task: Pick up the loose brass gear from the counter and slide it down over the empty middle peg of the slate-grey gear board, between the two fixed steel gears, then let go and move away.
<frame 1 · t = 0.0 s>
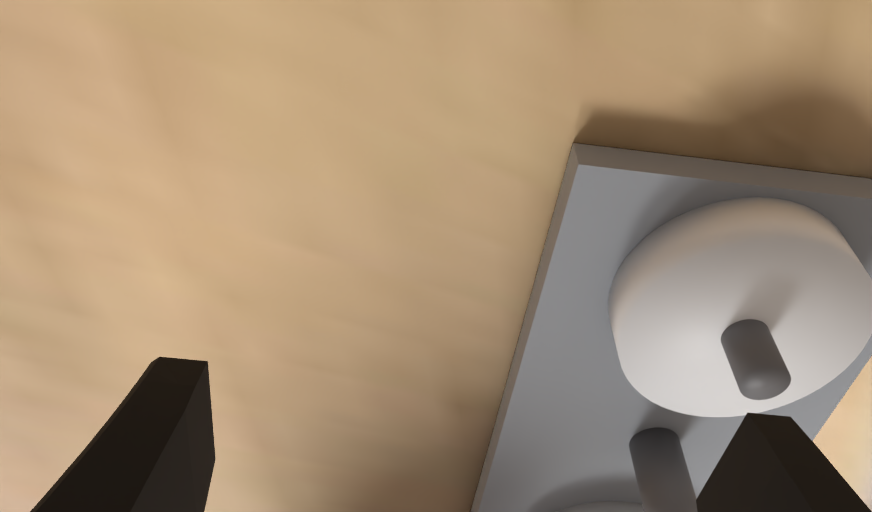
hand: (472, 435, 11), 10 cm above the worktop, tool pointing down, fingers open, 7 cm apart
gear board: (647, 418, 26), on the worktop
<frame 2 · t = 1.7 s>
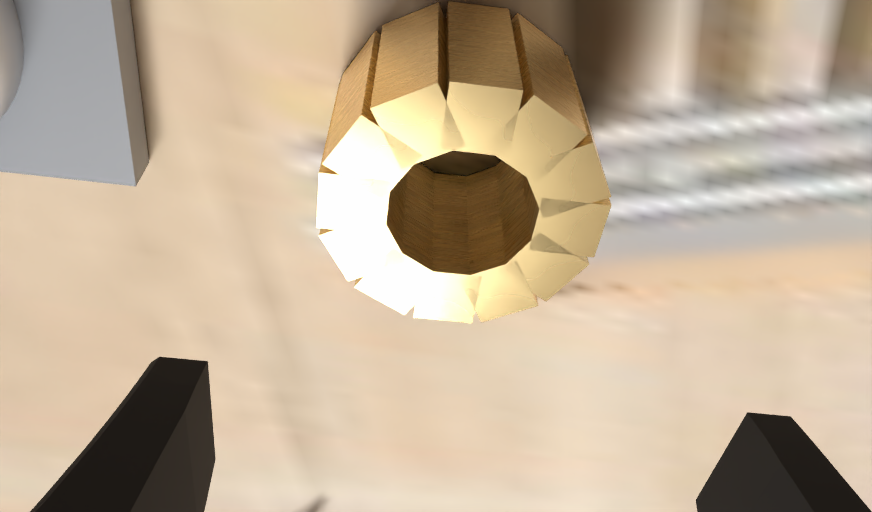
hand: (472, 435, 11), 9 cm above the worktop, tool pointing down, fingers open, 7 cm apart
brass gear: (458, 122, 17), on the worktop
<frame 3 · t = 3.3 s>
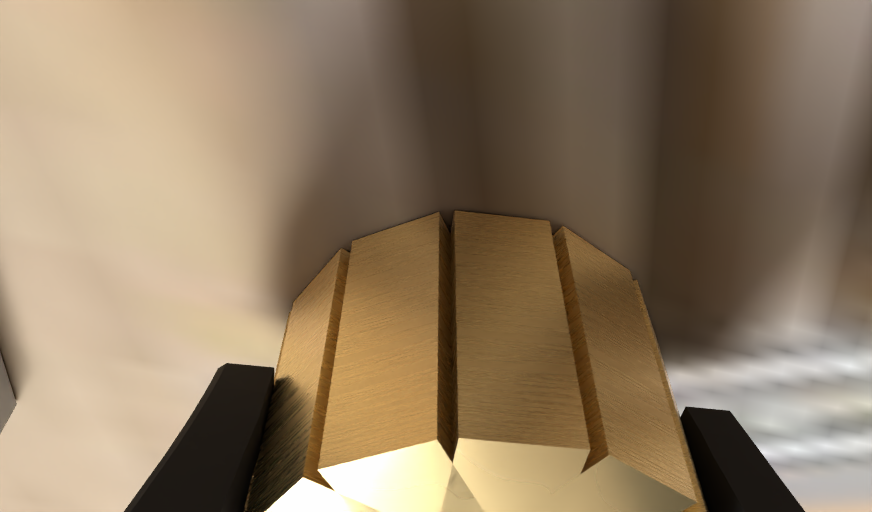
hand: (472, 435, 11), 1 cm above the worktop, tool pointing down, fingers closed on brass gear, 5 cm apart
brass gear: (469, 360, 12), on the worktop, touching gripper
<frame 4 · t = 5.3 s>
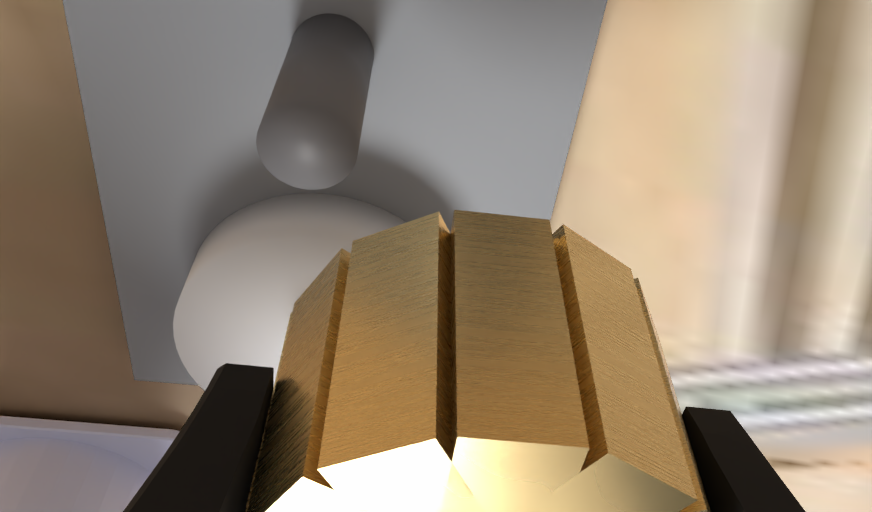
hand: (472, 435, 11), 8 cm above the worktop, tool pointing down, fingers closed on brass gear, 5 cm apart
brass gear: (471, 359, 12), point 7 cm above the worktop, touching gripper
gear board: (337, 32, 16), on the worktop
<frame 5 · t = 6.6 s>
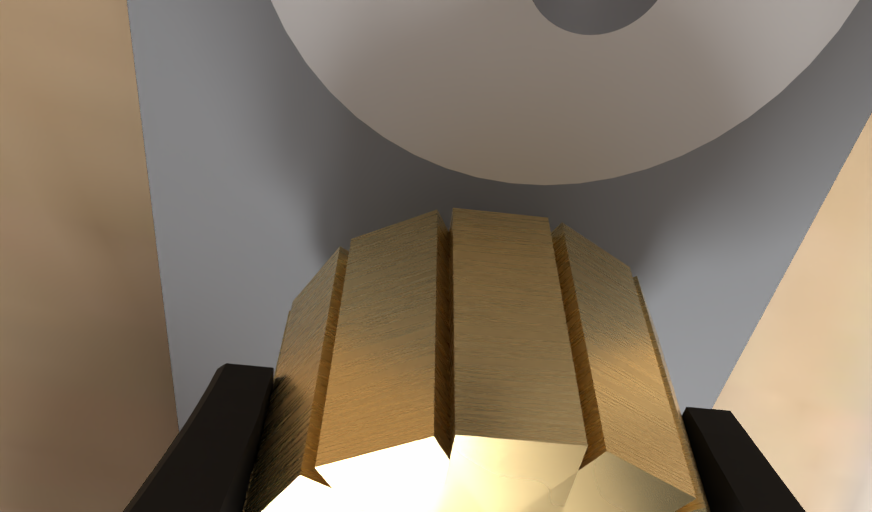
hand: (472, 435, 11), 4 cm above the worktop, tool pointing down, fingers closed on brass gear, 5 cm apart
brass gear: (469, 357, 12), point 2 cm above the worktop, touching gripper
gear board: (465, 257, 14), on the worktop
when the fingers open (3 cm above the worktop, at t = 7.7 s): brass gear stays where it is, resting on gear board.
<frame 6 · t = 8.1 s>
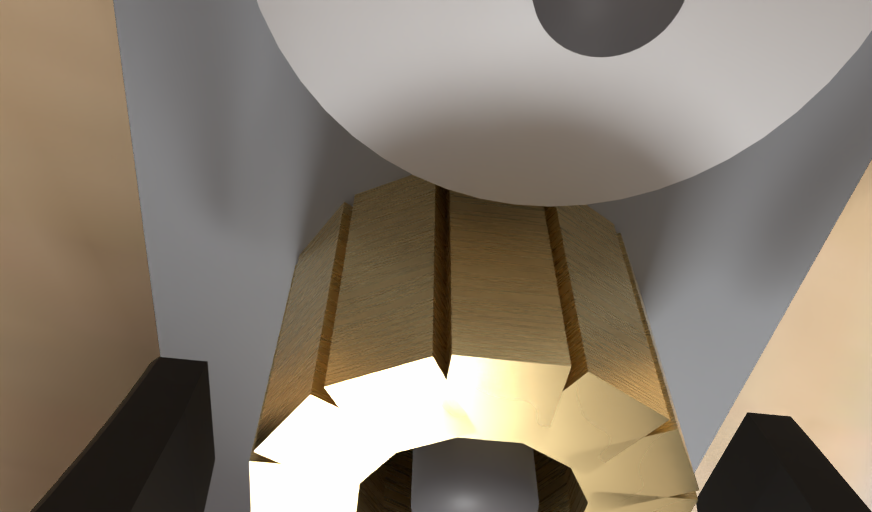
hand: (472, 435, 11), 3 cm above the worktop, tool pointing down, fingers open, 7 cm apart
brass gear: (464, 312, 12), point 1 cm above the worktop, touching gear board
gear board: (466, 274, 13), on the worktop
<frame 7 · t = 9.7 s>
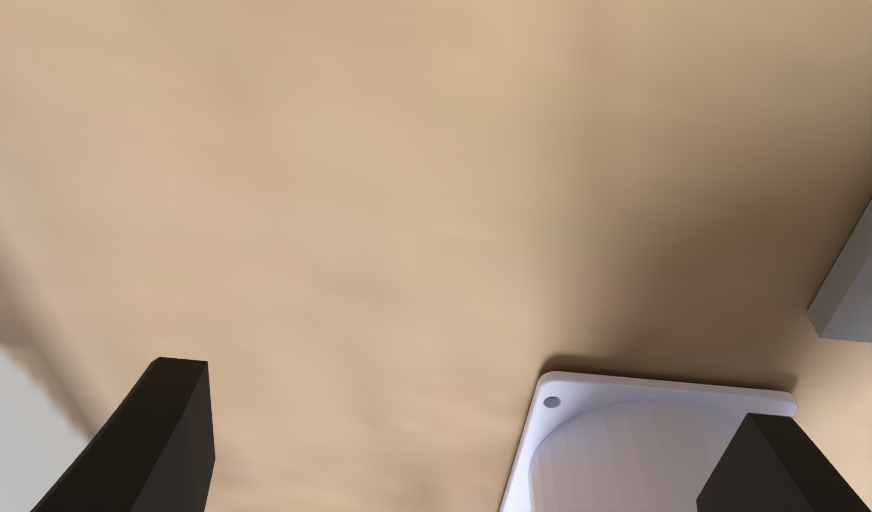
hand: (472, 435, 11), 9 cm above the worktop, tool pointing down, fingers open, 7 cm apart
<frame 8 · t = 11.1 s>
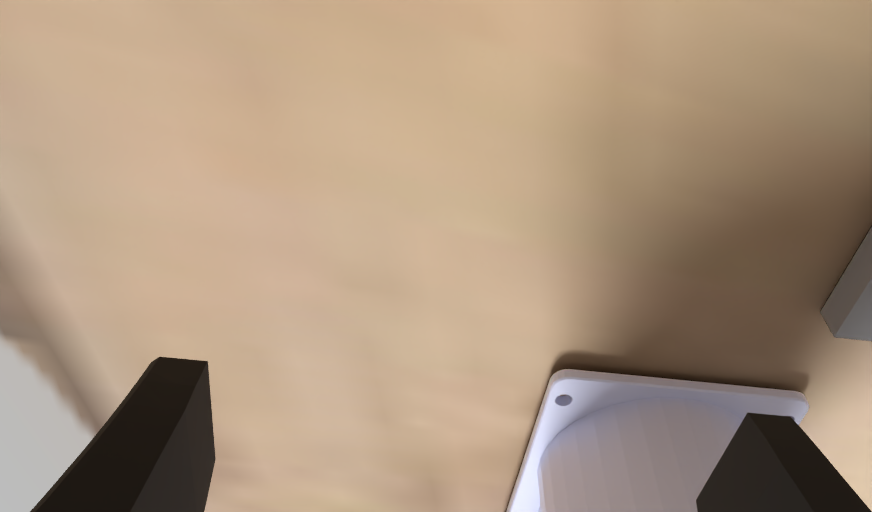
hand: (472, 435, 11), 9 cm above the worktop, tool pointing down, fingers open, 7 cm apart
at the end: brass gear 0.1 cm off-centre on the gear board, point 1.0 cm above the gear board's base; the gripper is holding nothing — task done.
